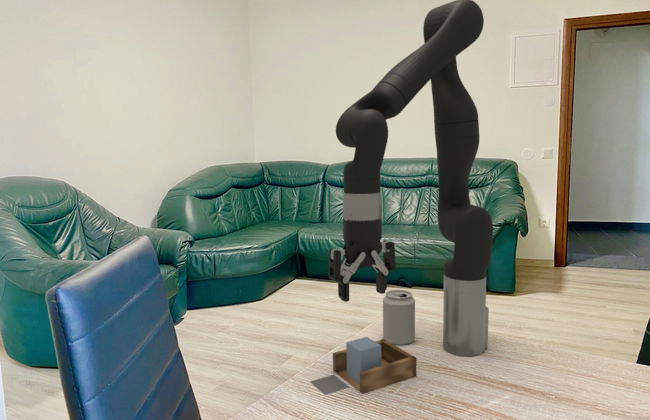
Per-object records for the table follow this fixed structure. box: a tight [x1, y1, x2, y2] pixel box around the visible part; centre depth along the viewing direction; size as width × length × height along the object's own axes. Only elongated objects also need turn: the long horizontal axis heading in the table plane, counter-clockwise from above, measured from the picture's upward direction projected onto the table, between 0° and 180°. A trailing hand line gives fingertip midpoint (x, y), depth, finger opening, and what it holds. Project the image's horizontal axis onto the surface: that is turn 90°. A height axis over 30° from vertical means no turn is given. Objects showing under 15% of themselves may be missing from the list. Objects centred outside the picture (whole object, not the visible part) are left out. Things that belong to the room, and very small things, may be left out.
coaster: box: [310, 374, 350, 396], centre depth 99 cm, size 6×6×1 cm
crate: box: [332, 338, 417, 395], centre depth 102 cm, size 13×11×4 cm
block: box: [345, 336, 381, 384], centre depth 101 cm, size 5×5×7 cm
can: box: [382, 289, 416, 346], centre depth 119 cm, size 8×8×12 cm
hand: (363, 296), depth 99 cm, fingers open, 8 cm apart
